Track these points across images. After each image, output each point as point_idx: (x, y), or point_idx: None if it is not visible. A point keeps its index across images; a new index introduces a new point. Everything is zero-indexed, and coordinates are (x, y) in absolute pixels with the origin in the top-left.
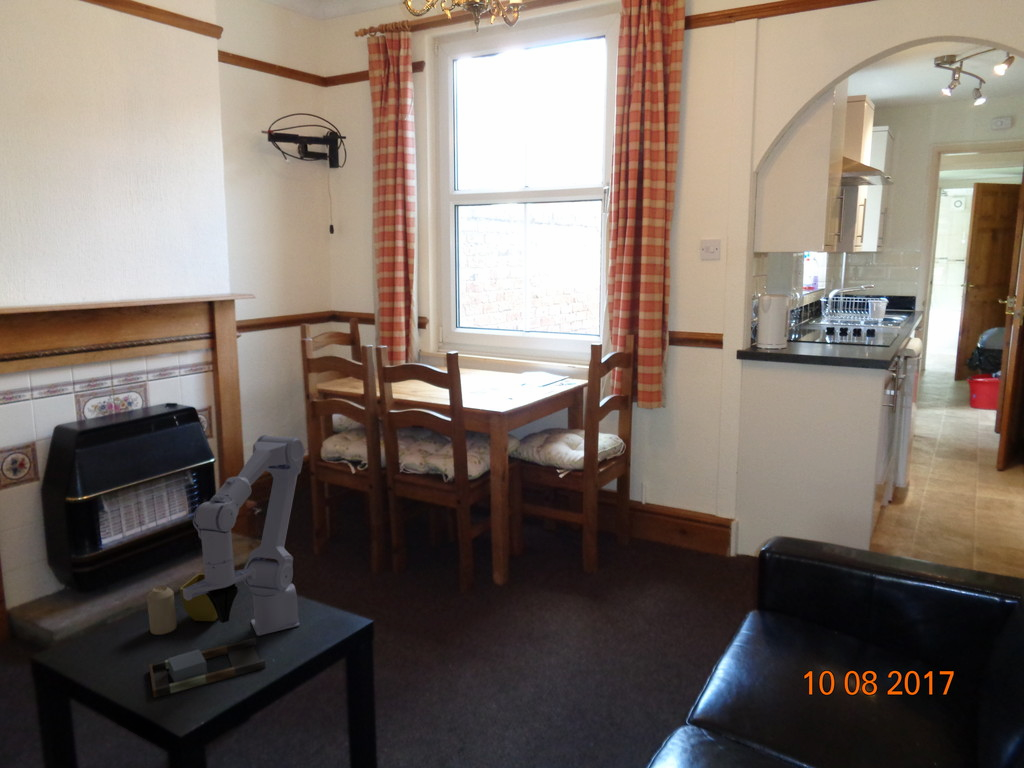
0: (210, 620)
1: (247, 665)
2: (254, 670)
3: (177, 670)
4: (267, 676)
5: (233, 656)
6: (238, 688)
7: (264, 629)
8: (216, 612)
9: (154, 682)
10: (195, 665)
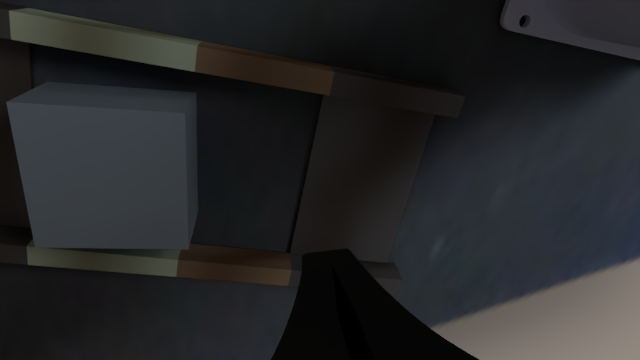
0: None
1: None
2: None
3: (51, 247)
4: None
5: (333, 140)
6: (268, 336)
7: (550, 9)
8: (299, 284)
9: None
10: (139, 247)
